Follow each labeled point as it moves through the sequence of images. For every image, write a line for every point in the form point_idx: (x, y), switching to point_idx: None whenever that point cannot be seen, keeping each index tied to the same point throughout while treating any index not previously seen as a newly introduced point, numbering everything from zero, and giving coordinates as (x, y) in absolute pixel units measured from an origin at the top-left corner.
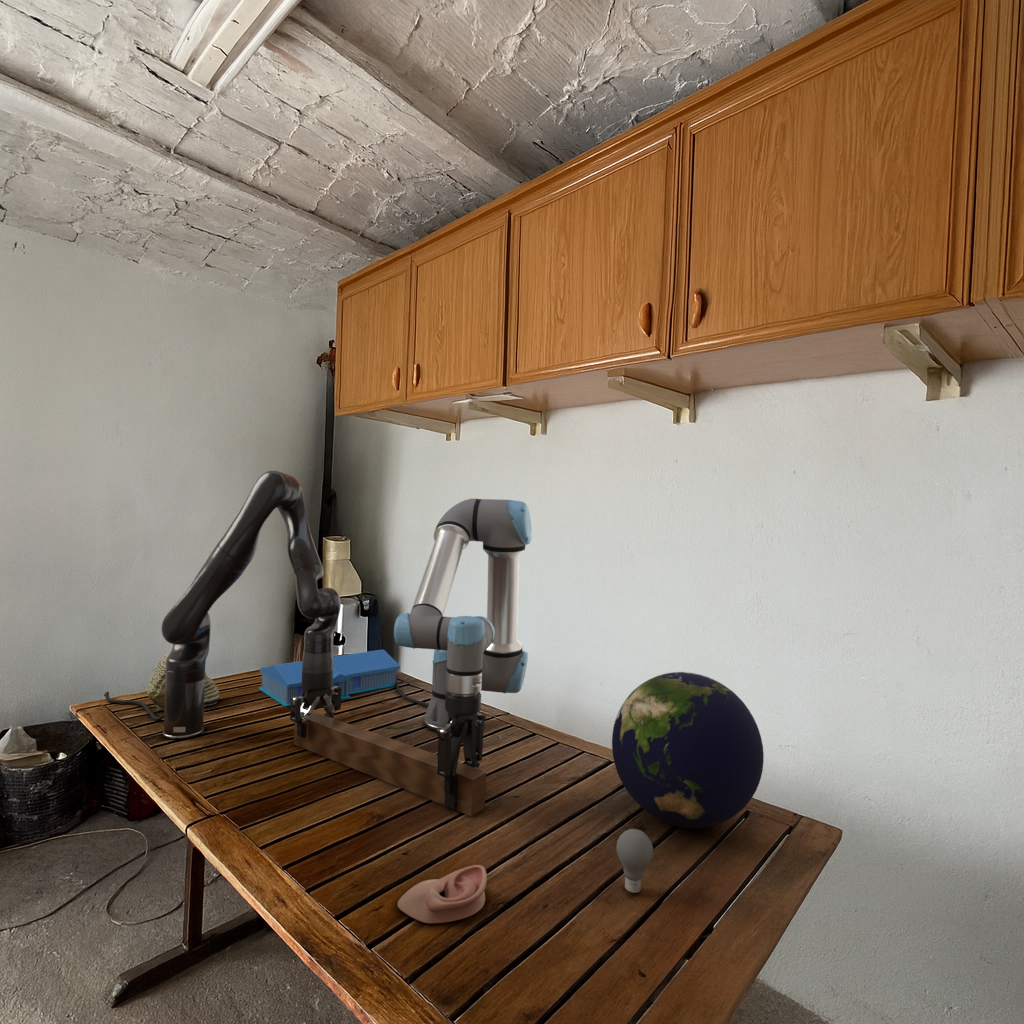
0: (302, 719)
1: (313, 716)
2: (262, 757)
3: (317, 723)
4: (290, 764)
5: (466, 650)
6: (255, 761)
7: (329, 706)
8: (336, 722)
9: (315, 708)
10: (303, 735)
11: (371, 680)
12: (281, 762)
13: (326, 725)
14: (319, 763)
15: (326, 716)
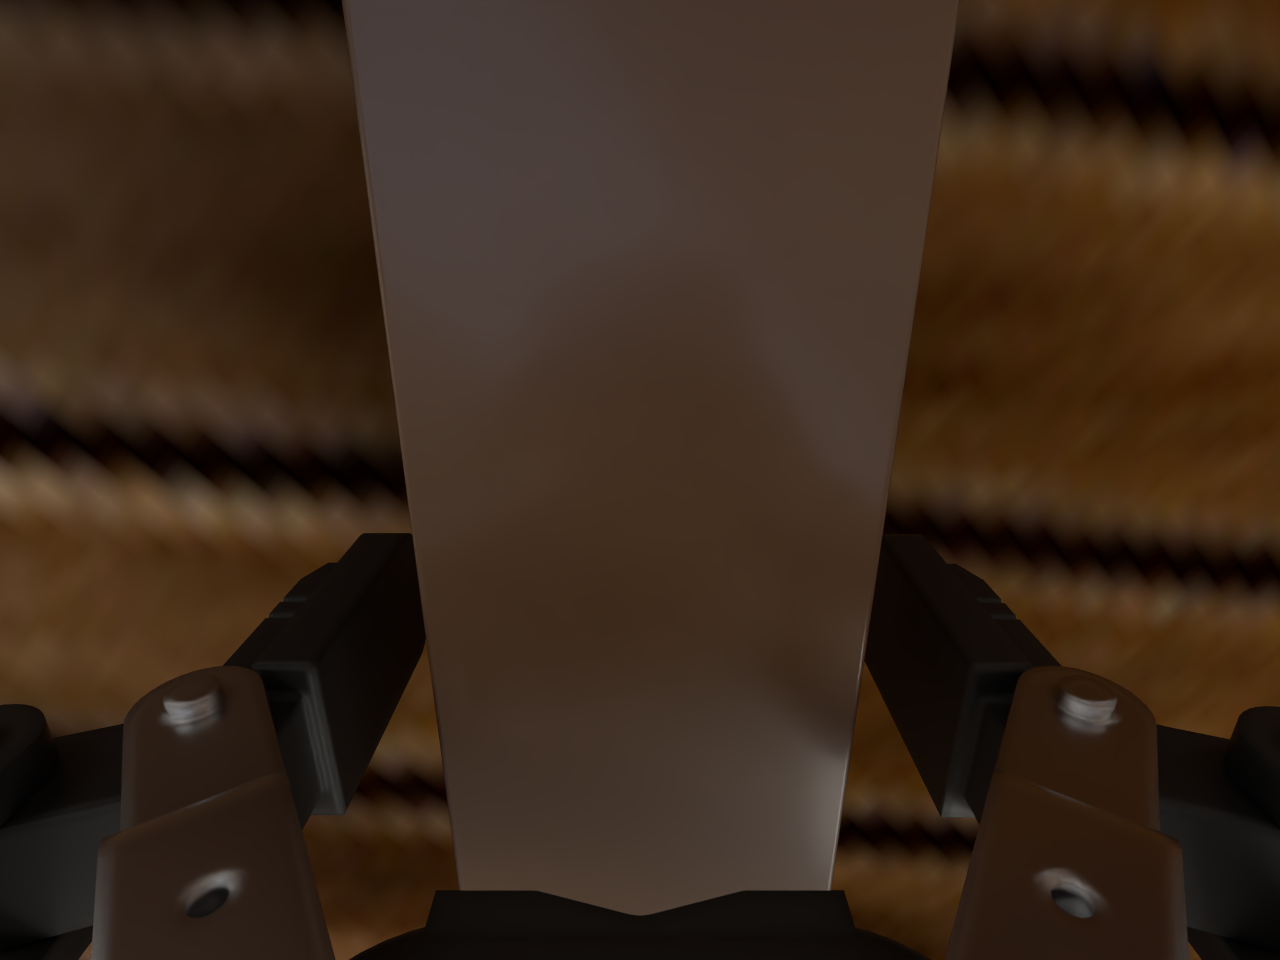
0: (1149, 753)
1: (653, 816)
2: (1145, 661)
3: (889, 460)
4: (1167, 303)
5: None
6: (1257, 633)
7: (261, 826)
8: (536, 72)
9: (787, 933)
10: (930, 554)
11: None
12: (1165, 428)
13: (914, 99)
14: (966, 23)
15: (451, 643)
